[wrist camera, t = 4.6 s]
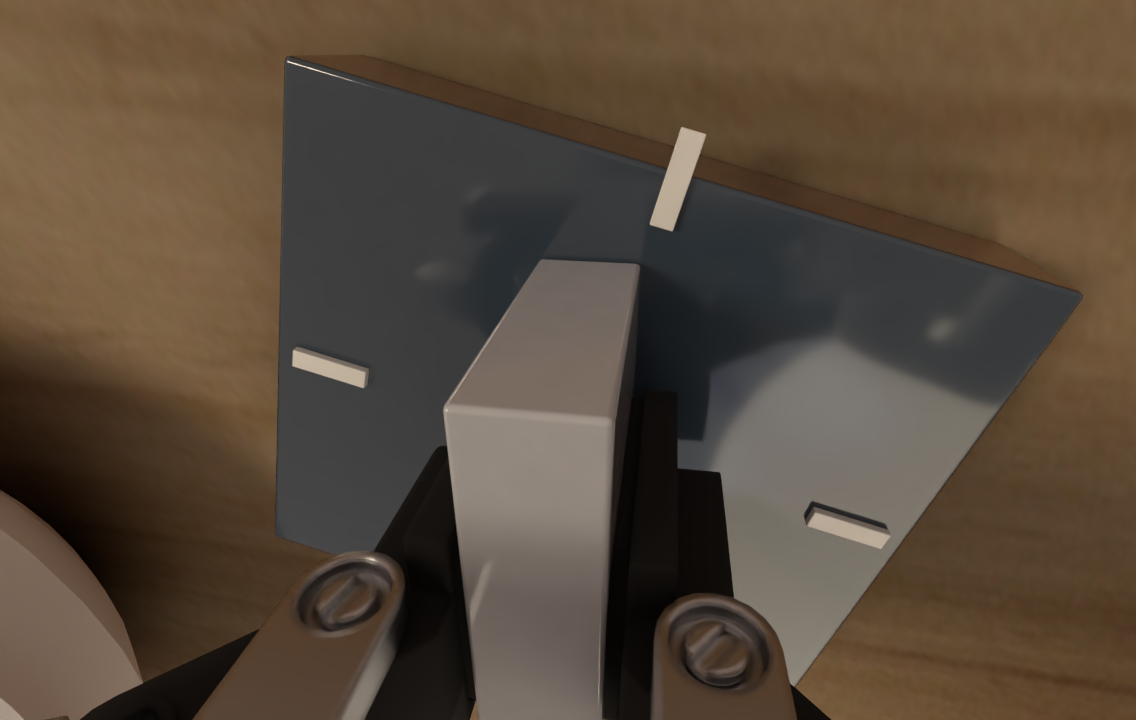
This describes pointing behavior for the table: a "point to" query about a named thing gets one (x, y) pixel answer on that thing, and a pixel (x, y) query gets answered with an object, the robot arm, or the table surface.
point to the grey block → (544, 488)
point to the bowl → (55, 626)
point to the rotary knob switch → (665, 322)
